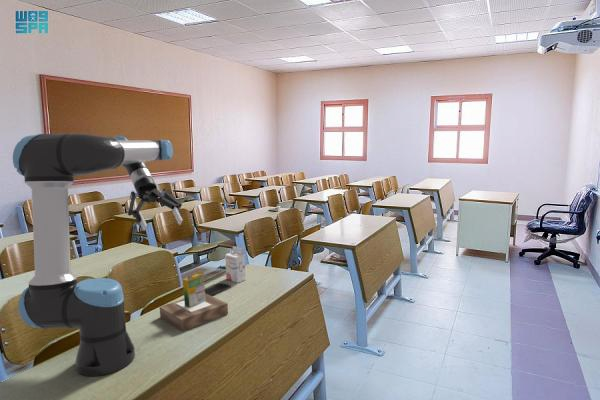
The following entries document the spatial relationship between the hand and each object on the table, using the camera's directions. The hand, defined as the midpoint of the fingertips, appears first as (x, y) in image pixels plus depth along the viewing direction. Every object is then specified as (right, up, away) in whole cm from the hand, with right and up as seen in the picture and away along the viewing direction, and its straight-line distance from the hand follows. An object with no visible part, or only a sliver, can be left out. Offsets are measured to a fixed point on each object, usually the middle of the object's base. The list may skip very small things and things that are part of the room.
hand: (163, 225), depth 145 cm
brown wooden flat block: (+12, -32, -3) cm, 35 cm away
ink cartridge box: (+21, -27, +35) cm, 49 cm away
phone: (+14, -30, +21) cm, 39 cm away
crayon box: (+12, -28, -3) cm, 31 cm away
